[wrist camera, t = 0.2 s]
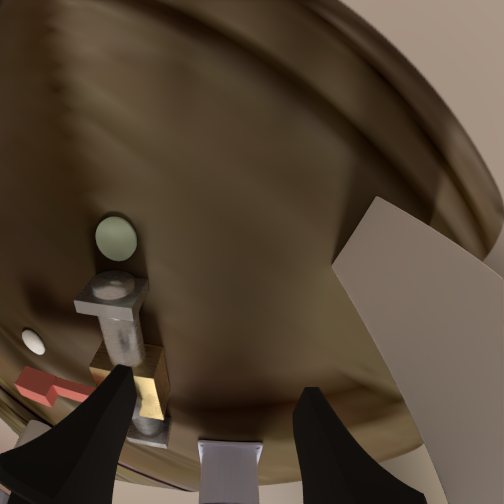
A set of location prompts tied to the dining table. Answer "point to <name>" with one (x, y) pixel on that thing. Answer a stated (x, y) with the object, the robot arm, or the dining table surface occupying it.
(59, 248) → the dining table surface
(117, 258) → the pale green round disc
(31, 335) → the white flattened pebble
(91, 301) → the valve body
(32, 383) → the lever
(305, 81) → the dining table surface
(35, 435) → the toilet tissue
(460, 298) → the milk
